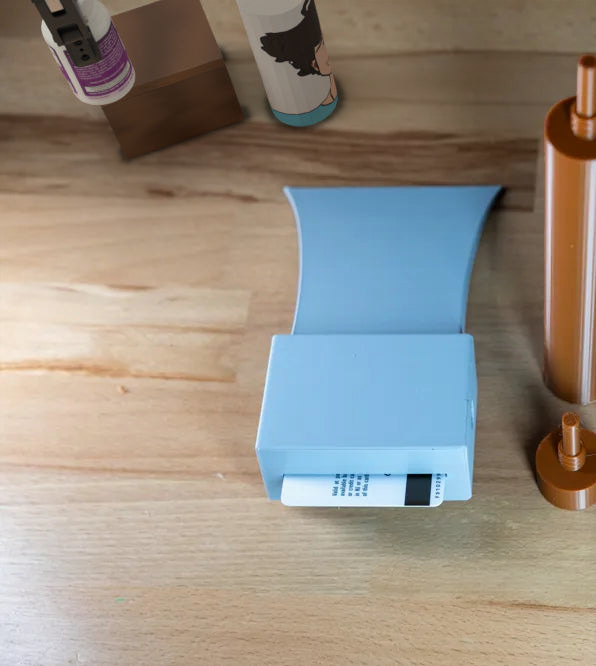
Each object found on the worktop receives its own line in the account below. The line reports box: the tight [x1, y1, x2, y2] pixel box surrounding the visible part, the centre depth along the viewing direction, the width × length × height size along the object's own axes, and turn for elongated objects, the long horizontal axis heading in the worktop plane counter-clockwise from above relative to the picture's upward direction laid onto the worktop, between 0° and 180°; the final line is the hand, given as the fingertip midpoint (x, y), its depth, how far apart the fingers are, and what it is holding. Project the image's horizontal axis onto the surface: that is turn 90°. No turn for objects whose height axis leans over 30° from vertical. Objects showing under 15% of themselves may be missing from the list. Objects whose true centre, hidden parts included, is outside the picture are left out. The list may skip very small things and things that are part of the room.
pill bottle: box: [40, 0, 135, 106], centre depth 94 cm, size 5×5×10 cm
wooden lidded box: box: [99, 0, 246, 160], centre depth 115 cm, size 12×10×9 cm
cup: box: [235, 0, 339, 127], centre depth 111 cm, size 7×7×15 cm
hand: (81, 35), depth 93 cm, fingers closed on pill bottle, 5 cm apart
